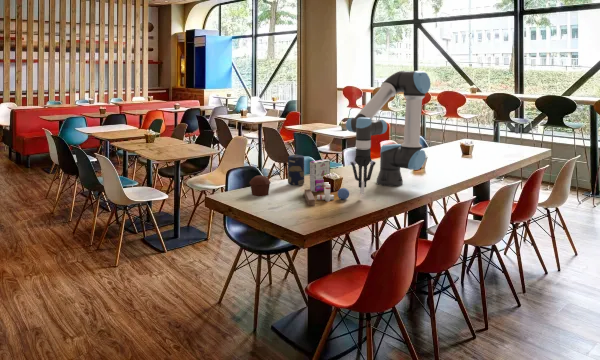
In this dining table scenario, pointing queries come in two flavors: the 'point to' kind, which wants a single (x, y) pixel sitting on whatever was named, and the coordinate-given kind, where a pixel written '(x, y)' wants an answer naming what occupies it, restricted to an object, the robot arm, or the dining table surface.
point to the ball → (343, 193)
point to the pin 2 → (327, 192)
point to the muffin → (260, 185)
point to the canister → (296, 170)
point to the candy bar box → (318, 174)
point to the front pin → (322, 197)
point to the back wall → (309, 197)
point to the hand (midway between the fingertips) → (362, 193)
